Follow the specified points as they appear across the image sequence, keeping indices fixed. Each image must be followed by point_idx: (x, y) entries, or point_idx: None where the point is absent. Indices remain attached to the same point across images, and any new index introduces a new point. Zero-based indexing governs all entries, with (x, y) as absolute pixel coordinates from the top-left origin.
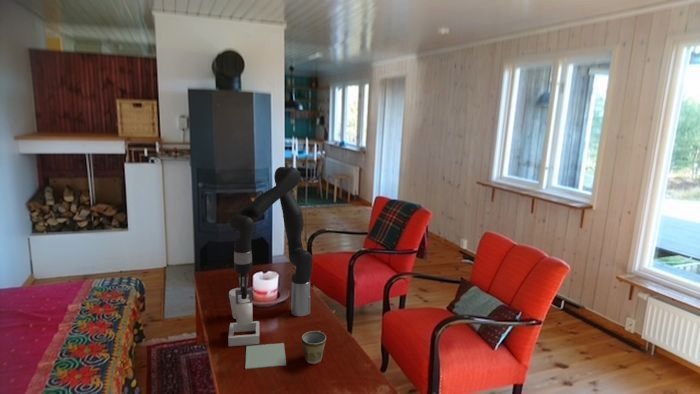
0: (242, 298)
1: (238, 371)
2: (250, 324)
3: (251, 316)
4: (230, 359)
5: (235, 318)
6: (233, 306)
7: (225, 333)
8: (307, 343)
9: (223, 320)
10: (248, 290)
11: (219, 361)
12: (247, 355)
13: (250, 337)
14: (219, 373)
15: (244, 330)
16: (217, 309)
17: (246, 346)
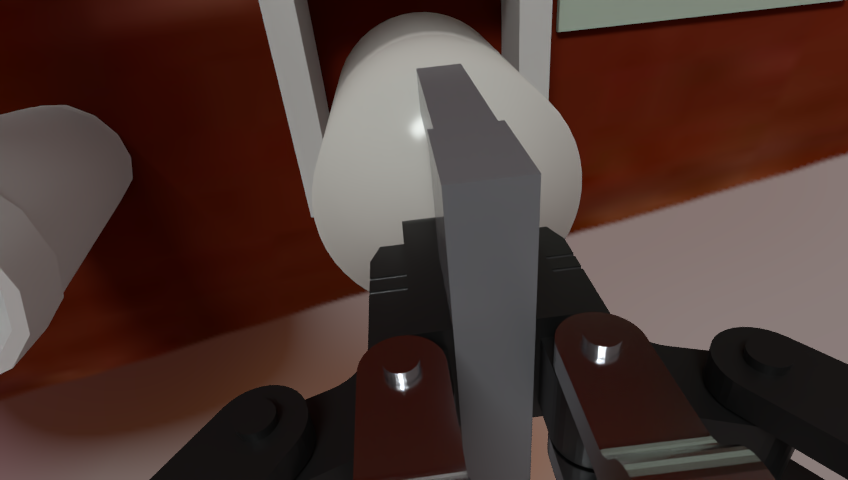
0: None
1: (844, 45)
2: (303, 37)
3: (470, 33)
4: (685, 122)
5: (128, 184)
6: (85, 255)
7: None
8: None
9: (171, 257)
10: (534, 269)
11: (684, 183)
12: (691, 4)
13: (548, 6)
14: (807, 160)
15: (320, 82)
16: None
17: (564, 30)
